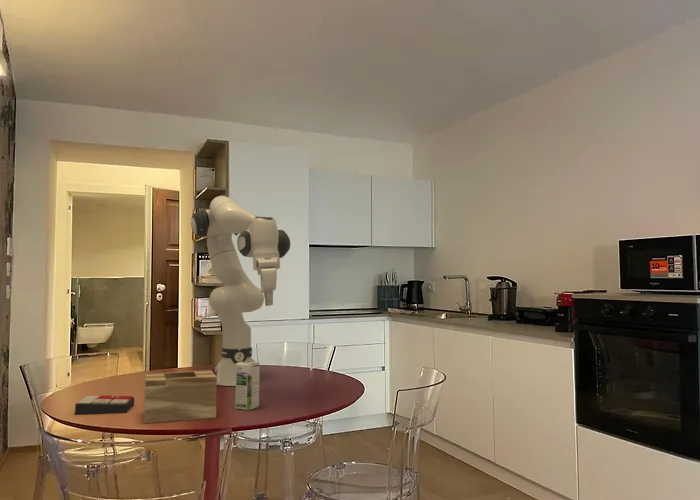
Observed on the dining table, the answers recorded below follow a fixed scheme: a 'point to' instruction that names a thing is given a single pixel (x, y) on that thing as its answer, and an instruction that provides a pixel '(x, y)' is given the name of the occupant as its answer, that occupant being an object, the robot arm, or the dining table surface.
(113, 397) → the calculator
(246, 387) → the syrup box
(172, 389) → the posting box
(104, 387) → the dining table surface
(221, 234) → the robot arm
